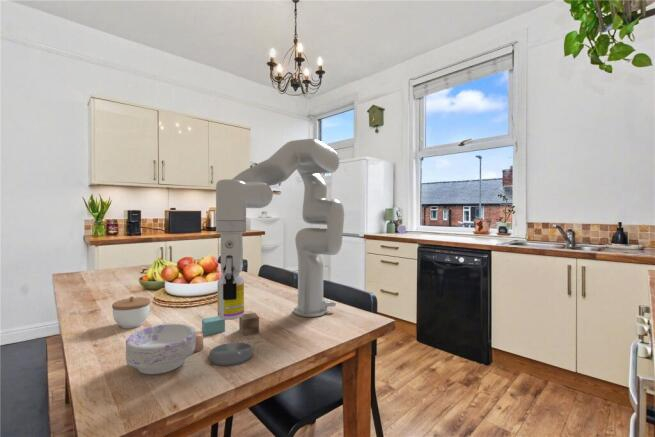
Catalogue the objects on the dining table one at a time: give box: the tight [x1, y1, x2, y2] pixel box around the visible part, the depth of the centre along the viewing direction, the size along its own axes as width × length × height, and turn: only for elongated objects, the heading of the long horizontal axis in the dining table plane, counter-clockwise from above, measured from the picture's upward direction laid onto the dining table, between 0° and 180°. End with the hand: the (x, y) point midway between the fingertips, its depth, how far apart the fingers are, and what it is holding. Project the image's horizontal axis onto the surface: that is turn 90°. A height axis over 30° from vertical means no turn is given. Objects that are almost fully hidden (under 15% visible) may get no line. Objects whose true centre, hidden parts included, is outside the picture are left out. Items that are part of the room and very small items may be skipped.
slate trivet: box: [208, 341, 254, 367], centre depth 84 cm, size 11×11×1 cm
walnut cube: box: [238, 312, 260, 337], centre depth 100 cm, size 5×5×5 cm
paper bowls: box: [125, 322, 197, 375], centre depth 79 cm, size 15×15×8 cm
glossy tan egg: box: [193, 331, 204, 353], centre depth 88 cm, size 4×4×4 cm
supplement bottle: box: [217, 267, 245, 321], centre depth 83 cm, size 7×7×13 cm
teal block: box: [201, 315, 226, 336], centre depth 101 cm, size 6×4×4 cm, turn 125°
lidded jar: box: [111, 296, 151, 329], centre depth 105 cm, size 11×11×9 cm
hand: (231, 294), depth 83 cm, fingers closed on supplement bottle, 6 cm apart
